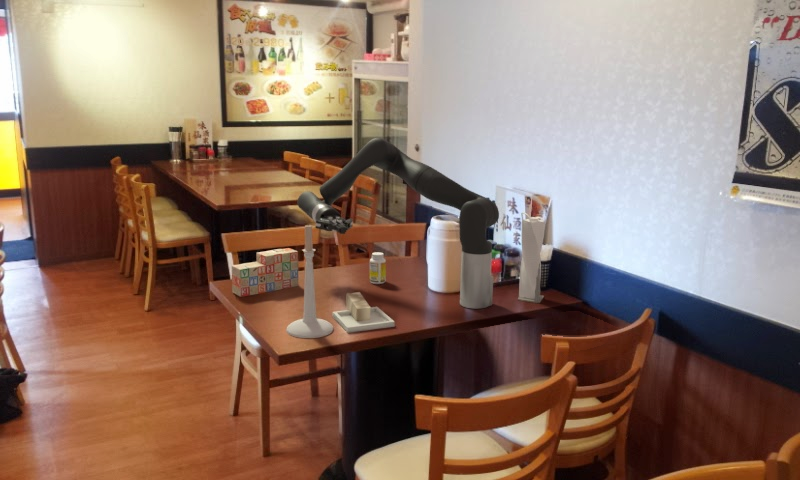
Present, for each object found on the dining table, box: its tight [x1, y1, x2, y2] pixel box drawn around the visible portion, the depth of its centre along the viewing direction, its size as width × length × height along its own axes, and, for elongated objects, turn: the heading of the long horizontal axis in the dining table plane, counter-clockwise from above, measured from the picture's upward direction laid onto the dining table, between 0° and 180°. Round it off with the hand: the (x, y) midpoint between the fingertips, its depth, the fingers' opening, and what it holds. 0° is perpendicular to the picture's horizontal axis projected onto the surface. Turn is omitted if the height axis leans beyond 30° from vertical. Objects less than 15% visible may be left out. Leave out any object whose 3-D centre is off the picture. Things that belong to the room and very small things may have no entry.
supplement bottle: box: [369, 251, 387, 285], centre depth 233 cm, size 6×6×10 cm
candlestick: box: [286, 223, 334, 339], centre depth 185 cm, size 13×13×30 cm
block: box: [345, 291, 371, 321], centre depth 198 cm, size 4×4×10 cm
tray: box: [332, 306, 396, 333], centre depth 195 cm, size 14×14×2 cm
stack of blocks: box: [231, 247, 299, 298], centre depth 223 cm, size 21×6×12 cm, turn 129°
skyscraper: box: [517, 211, 546, 304], centre depth 216 cm, size 8×8×28 cm
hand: (343, 230), depth 207 cm, fingers closed
